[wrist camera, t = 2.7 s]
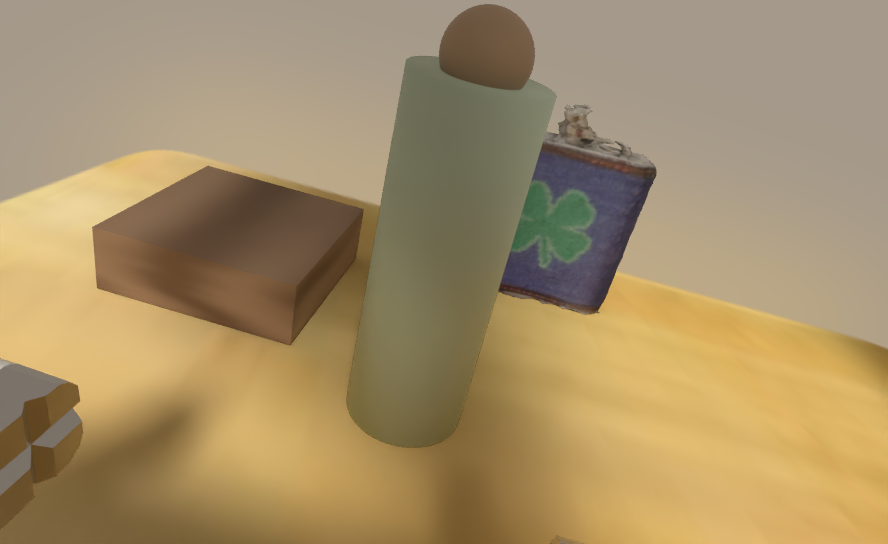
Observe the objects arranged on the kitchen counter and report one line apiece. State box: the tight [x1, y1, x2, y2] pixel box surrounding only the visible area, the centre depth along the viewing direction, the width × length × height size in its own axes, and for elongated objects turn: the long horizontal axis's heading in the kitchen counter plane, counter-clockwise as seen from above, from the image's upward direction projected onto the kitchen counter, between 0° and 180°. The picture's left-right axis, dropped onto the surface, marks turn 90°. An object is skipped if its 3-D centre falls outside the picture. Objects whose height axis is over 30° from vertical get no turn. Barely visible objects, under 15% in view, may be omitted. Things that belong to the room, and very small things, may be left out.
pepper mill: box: [347, 4, 557, 448], centre depth 20 cm, size 5×5×15 cm
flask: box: [498, 105, 656, 314], centre depth 32 cm, size 9×3×11 cm, turn 82°
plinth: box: [92, 166, 364, 345], centre depth 29 cm, size 9×9×3 cm
